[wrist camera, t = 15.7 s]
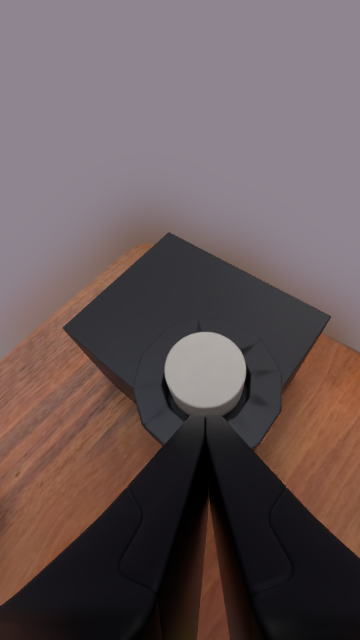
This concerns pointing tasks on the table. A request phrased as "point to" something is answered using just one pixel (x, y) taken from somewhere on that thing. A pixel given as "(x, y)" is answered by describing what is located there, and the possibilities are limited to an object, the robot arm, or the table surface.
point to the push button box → (192, 317)
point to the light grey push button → (205, 374)
